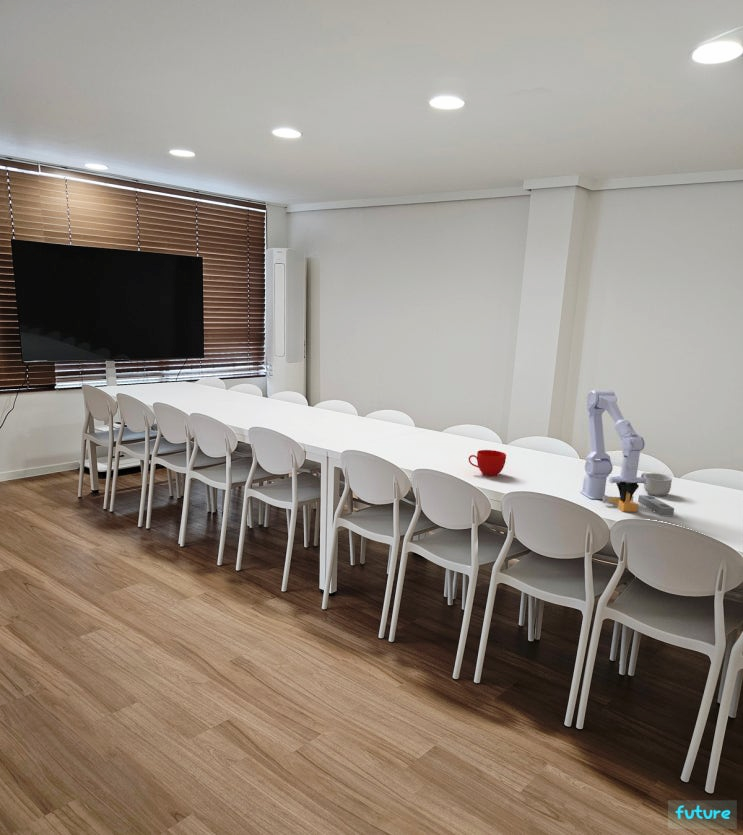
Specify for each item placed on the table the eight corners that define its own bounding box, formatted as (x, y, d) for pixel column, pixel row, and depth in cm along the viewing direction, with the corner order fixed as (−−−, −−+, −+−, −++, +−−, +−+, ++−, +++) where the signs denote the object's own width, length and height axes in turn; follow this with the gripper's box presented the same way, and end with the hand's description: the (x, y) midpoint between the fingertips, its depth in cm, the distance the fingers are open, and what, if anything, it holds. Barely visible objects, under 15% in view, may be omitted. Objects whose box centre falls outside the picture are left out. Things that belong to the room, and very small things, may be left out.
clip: (631, 505, 245) (632, 495, 244) (632, 506, 244) (634, 497, 243) (601, 504, 245) (603, 494, 244) (603, 505, 243) (604, 495, 242)
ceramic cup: (463, 470, 286) (465, 449, 284) (499, 471, 287) (501, 450, 286) (471, 478, 273) (472, 456, 271) (508, 478, 275) (510, 457, 273)
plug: (617, 508, 241) (620, 490, 240) (631, 508, 242) (633, 491, 240) (623, 511, 237) (625, 494, 236) (636, 511, 238) (639, 494, 237)
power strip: (637, 502, 251) (638, 494, 250) (649, 502, 251) (650, 494, 251) (661, 515, 235) (662, 507, 235) (673, 515, 236) (674, 507, 235)
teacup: (675, 497, 260) (678, 479, 259) (652, 498, 258) (655, 479, 256) (653, 488, 273) (656, 470, 272) (632, 488, 271) (634, 470, 270)
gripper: (617, 469, 231) (613, 504, 234) (653, 470, 233) (648, 504, 236) (608, 464, 238) (603, 498, 240) (642, 465, 240) (638, 498, 243)
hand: (625, 500), depth 239 cm, fingers closed on plug, 2 cm apart
